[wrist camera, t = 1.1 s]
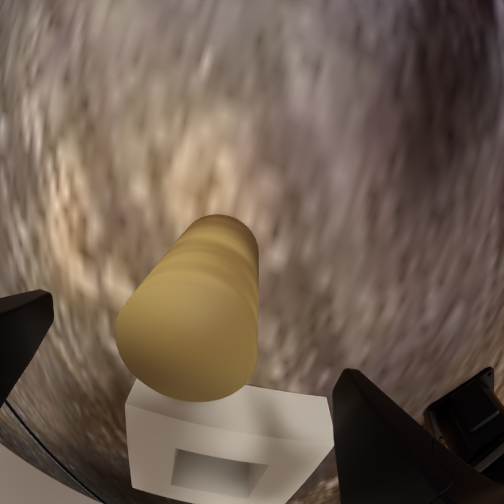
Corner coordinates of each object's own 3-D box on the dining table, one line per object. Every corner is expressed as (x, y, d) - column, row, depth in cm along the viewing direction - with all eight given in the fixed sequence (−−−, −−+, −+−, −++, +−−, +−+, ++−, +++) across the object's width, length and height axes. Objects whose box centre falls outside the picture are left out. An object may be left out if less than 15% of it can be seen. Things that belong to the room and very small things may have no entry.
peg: (273, 267, 16) (284, 373, 8) (207, 302, 16) (173, 414, 9) (231, 199, 15) (200, 255, 7) (164, 240, 15) (89, 323, 8)
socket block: (326, 397, 19) (336, 442, 15) (274, 478, 22) (275, 513, 19) (145, 360, 18) (124, 403, 14) (143, 453, 22) (132, 487, 18)
